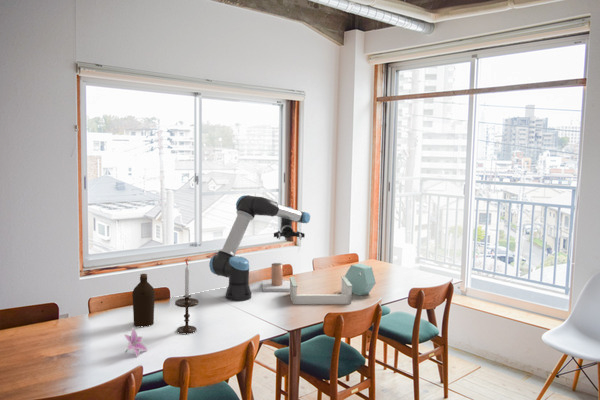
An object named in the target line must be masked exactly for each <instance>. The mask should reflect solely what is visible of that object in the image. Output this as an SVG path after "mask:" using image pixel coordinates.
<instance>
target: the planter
mask: <svg viewBox="0 0 600 400" xmlns="http://www.w3.org/2000/svg"><path fill="white" fill-rule="evenodd" d="M344 277H346V278H347V279H348V281H349V282H350V283H351V284H352V294H354V295H358V296H360V297H361V296H364V295H369V294H370V293H371V291H372V289H373V288H374V287H375V285H376V278H375V275H374V271H373V267H372V266H370V265H366V264H363V263H356V264H351V265H350V266H349V268H348V270H347V271H346V273H345V275H344Z"/></svg>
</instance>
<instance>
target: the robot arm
mask: <svg viewBox="0 0 600 400" xmlns="http://www.w3.org/2000/svg"><path fill="white" fill-rule="evenodd" d="M235 206H236V207H235V210H236V215H237V216H236V217H235V220H234V222H233V223H232V226H231V228H230V232H229V233H228V235H227V238H226V240H225V242H224V245H223V247H222V249H219V250H218V251H217V254H214V255H213V256H211V257H210V259H209V264H208V265H209V266H208V267H209V269H210V272H211V273H212V274H214V275H216V276H217V277H219V276H220V277H225V278H228V286H227V287H226V292H225V298H226V299H227V300H230V301H235V302H238V301H239V302H240V301H247V300H250V299H251V298H252V291H251V287H250V285H249V283H250V282H249V279H250V276H249V275H250V263H249V262H250V261H249V260H248V258H246V257H243V256H237V255H236V254H237V251H238V249H239V247H240V244H241V242H242V240H243V238H244V236H245V233H246V231H247V229H248V226H249V224H250V222H251V221H253V220H254V219H255V216H263V217H264V216H265V217H267V216H268V217H278V218H280V219H281V220H280V222H281V223H280V230H278V231H276V232H274V233H273V238H276V239H278V240H281V237H284V238H285V239H290V238H293V237H297V238H299V240H302V238H303V239H305V236H306V235H305V233H304V232H300V231H294V230H293V226H292V225H293V223H294V222H295V223H301V224H308V223H310V220H311V215H310V213H309V212H306V211H301V210H297V209H294V208H293V207H292V206H285V205H281V204H279V203H278V202H276V201H274V200H272V199H268V198H265V197H264V196H255V195H249V194H247V195H241V196H240V197H238V199H237V200H236V203H235Z"/></svg>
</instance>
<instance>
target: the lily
mask: <svg viewBox="0 0 600 400" xmlns="http://www.w3.org/2000/svg"><path fill="white" fill-rule="evenodd" d="M123 335H124V338H126V340H127V341H128V343H127V347H126V350H125V352H128V351H133V350H134V353H135V355H136V357H137V356H138V355H139V356H140V351H143V352H148V348H147V346H146V345H145V344H144V343H142V341H143V337H142V336H138V333H137V331H136V330H135V328H134V327H132V328H131V333H130V335H128V334H123ZM139 356H138V357H139Z"/></svg>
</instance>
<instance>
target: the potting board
mask: <svg viewBox="0 0 600 400" xmlns="http://www.w3.org/2000/svg"><path fill="white" fill-rule="evenodd" d="M261 286H262V292H264V293H267V292H268V293H269V292H270V293H271V292H275V293H277V292H278V293H279V292H280V293H283V292H284V293H288V292H289V293H290V280H282V285H281V286H273V285H271V280H261Z"/></svg>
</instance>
